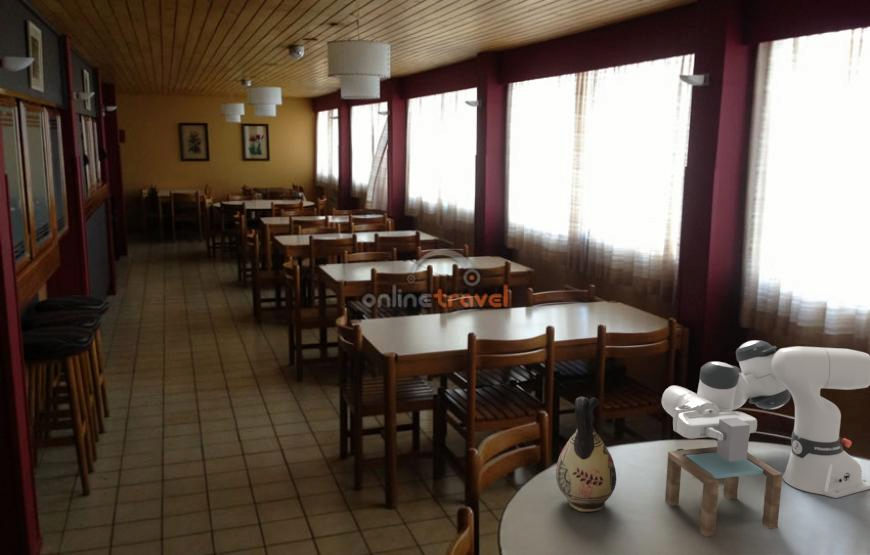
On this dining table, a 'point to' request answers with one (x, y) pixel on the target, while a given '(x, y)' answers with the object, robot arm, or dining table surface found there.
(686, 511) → the dining table surface
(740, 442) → the light grey block
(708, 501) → the trapdoor frame
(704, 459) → the trapdoor
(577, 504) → the ceramic jug
